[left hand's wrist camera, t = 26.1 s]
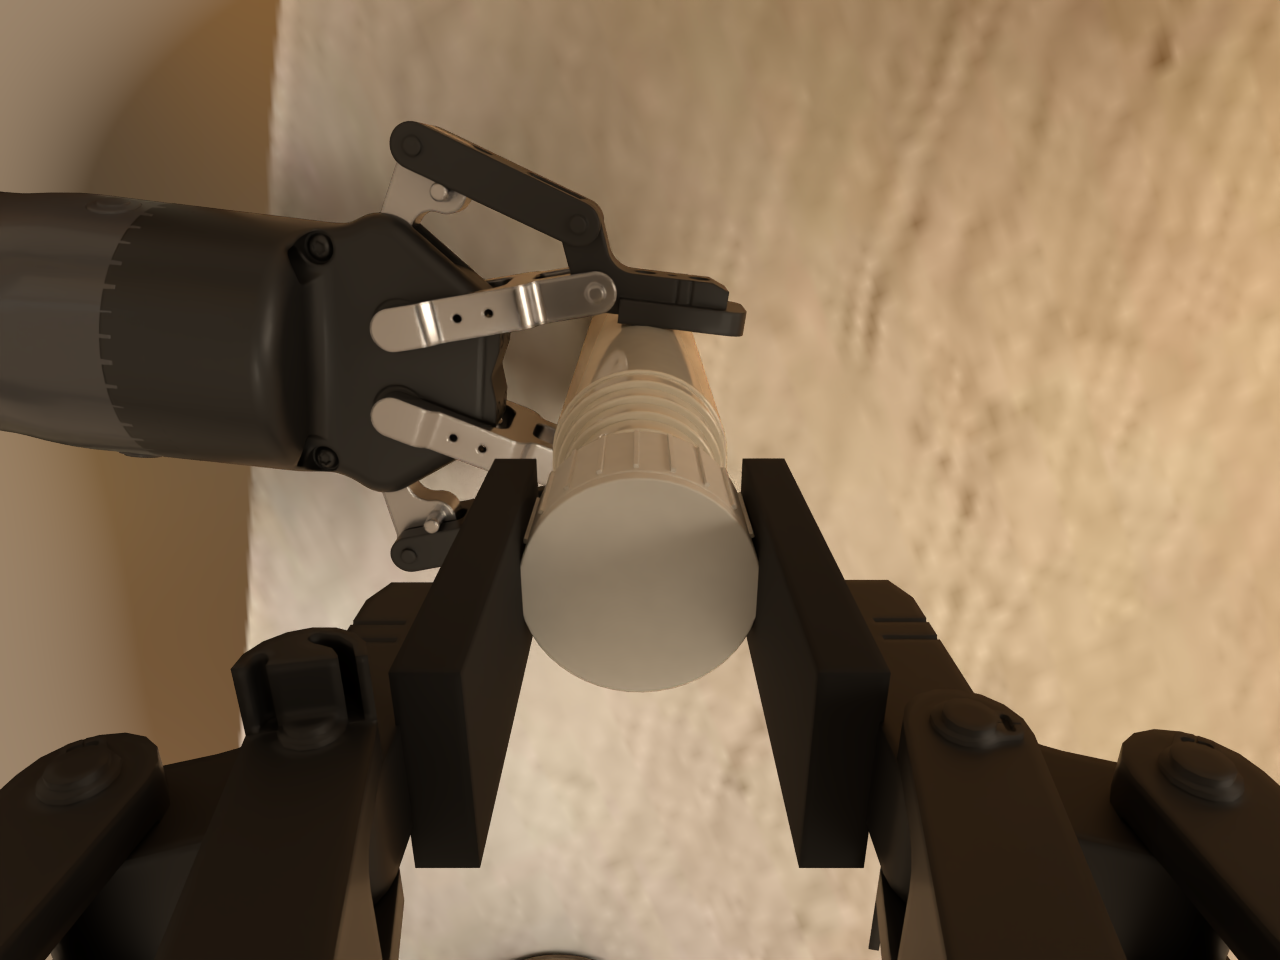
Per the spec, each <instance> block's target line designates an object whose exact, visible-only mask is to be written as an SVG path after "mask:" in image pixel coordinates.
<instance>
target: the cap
mask: <svg viewBox="0 0 1280 960" xmlns="http://www.w3.org/2000/svg"><path fill="white" fill-rule="evenodd" d="M753 537H755V535H754V532H753V529H752V526H751V523H750V520H749V516H748V513H747V510H746V507H745V504H744V500H743V497H742V494H741V492H739V493H737V491H736V489H735V487H734V485H733V483H732V481H731V479H730V478H729V477H728V473H727V470H726V468H725V467H724V466H723V467H721V466H720V465H719V464H718V463H717V462H716V461H715V460H714V459H713V458H711V457H710V456H709V455H708V454H706V453H705V452H704V451H703V448H702V447H700V446H698V447H696V446H694V445H693V444H691V443H688V442H686V441H684V440H682V439H679V438H676V437H673V436H672V434H669V433H668V434H667V435H666V434H661V433H655V432H639V430H634V432H624V433H619V434H614V435H609V436H606V435H603V436H601V439H598V440H595V441H593V442H591V443H589V444H587V445H585V446H583V447H582V448H580V449H579V450H576V449H575V450H573V451H572V453H571V455H570V456H569V457H568V458H567V459H566V460H565V461H564V462H563V463H561V465H560V466H559V467H558V468H557V469H556V470H555V472H554V471H551V472H550V474H549V477H548V481H547V484H546V486H545V488H544V490H543V492H542V494H541V497H540V498H538V497H537V498H536V501H535V505H534V508H533V511H532V514H531V517H530V520H529V524H528V527H527V530H526V533H525V536H524V539H523V541H524V543H525V544H526V546H525V549H524V552H523V556H522V559H521V563H520V569H521V586H522V602H523V616H524V619H525V622H526V624H527V626H528V628H529V630H530V632H531V634H532V635H533V637H534V638H535V640H536V641H537V643H538V644H539V646H540V647H541V648H542V649H543V650H544V651H545V652H546V654H547V655H548V656H549V657H550V658H551V659H553V660H554V661H555V662H556V663H557V664H558V665H559V666H561V667H562V668H564V669H565V670H567V671H568V672H570V673H571V674H573V675H575V676H577V677H579V678H581V679H582V680H584V681H587V682H590V683H592V684H595V685H597V686H601V687H605V688H609V689H612V690H619V691H626V692H652V691H661V690H666V689H671V688H675V687H678V686H682V685H685V684H688V683H690V682H692V681H695V680H697V679H699V678H701V677H703V676H705V675H706V674H708V673H710V672H711V671H713V670H714V669H716V668H717V667H718V666H720V665H721V664H722V663H724V662H725V661H726V660H727V659H728V658H729V657H730V656H731V655H732V654H733V653H734V652H735V651H736V650H737V648H738V647H739V646H740V645H741V643H742V642H743V641H744V639H745V637H746V636H747V634H748V632H749V631H750V629H751V627H752V625H753V622H754V620H755V617H756V604H757V588H758V571H759V561H758V557H757V554H756V551H755V548H754V544H753V541H752V538H753Z"/></svg>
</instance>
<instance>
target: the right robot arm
mask: <svg viewBox="0 0 1280 960" xmlns="http://www.w3.org/2000/svg"><path fill="white" fill-rule="evenodd" d="M390 150H391V153H392V155H393V157H394V159H395V160H396V161H397V163H396V166H395V169H394V173H393V176H392V179H391V182H390V185H389V188H388V191H387V194H386V198H385V201H384V204H383V207H382V210H381V212H379V213H372V214H368V215H365V216H363V217H361V218H359V219H357V220H354V221H352V222H349V223H332V222H323V221H315V220H307V219H299V218H290V217H282V216H274V215H265V214H257V213H249V212H241V211H232V210H224V209H216V208H208V207H199V206H191V205H183V204H174V203H164V202H156V201H148V200H140V199H132V198H124V197H116V196H108V195H100V194H88V193H9V192H0V430H1V431H7V432H14V433H19V434H23V435H27V436H31V437H35V438H39V439H43V440H47V441H51V442H56V443H60V444H65V445H70V446H76V447H83V448H90V449H98V450H108V451H117V452H119V453H122V454H124V455H126V456H131V457H141V458H155V457H162V456H164V457H173V458H182V459H191V460H200V461H211V462H220V463H229V464H238V465H248V466H257V467H266V468H275V469H284V470H294V471H327V472H336V473H340V474H343V475H346V476H348V477H350V478H352V479H354V480H356V481H358V482H359V483H361V484H362V485H364V486H366V487H367V488H369V489H372V490H375V491H378V492H383V495H384V498H385V501H386V504H387V507H388V510H389V513H390V515H391V518H392V521H393V524H394V527H395V530H396V533H397V540H396V541H395V543H394V544H393V546H392V548H391V558H392V561H393V562H394V564H395V565H396V566H397V567H399V568H400V569H402V570H404V571H408V572H414V571H420V570H426V569H431V568H437V567H441V566H442V564H443V562H444V560H445V558H446V556H447V554H448V552H449V550H450V548H451V546H452V544H453V542H454V540H455V538H456V536H457V534H458V532H459V530H460V528H461V525H462V523H463V521H464V519H465V517H466V515H467V513H468V511H469V509H470V507H471V505H472V503H473V501H474V499H471V500H465V501H459V499H458V498H457V497H456V496H455V495H454V494H453V493H451V492H449V491H445V490H431V489H428V488H426V487H424V486H423V485H422V484H421V483H420V482H419V480H421V479H423V478H424V477H426V476H428V475H430V474H432V473H433V472H435V471H437V470H439V469H441V468H442V467H444V466H446V465H448V464H450V463H451V462H453V461H455V460H460V461H462V462H465V463H468V464H470V465H473V466H476V467H478V468H481V469H484V470H486V471H489V469H490V467H491V465H492V463H493V461H494V459H537V479H538V483H539V484H542V485H544V486H540V487H538V498H540V497H541V494H542V492H543V490H544V488H545V486H546V484H547V481H548V477H549V474H550V472H551V471H553V440H554V434H555V431H556V427H557V424H554V423H552V422H549V421H547V420H545V419H543V418H542V417H541V416H540V415H539V414H538V413H536V412H535V411H533V410H531V409H529V408H526V407H524V406H521V405H519V404H516V403H513V402H511V401H508V400H506V399H507V384H506V379H505V374H504V370H503V365H502V361H503V358H504V355H505V352H506V349H507V346H508V343H509V340H510V332H513V331H519V330H525V329H529V328H533V327H536V326H538V325H541V324H545V323H551V322H557V321H563V320H569V319H575V318H581V317H587V316H594V315H600V314H603V313H609V314H618V322H617V323H620V324H629V325H637V326H650V327H655V328H663V329H672V330H680V331H689V332H698V333H706V334H715V335H723V336H735V337H737V336H742V335H743V330H744V324H745V318H746V310H745V309H744V308H743V306H742V305H741V304H738V303H735V302H730V301H728V296H729V292H728V290H727V289H726V287H725V286H724V285H722V284H720V283H719V282H717V281H715V280H713V279H712V278H710V277H704V276H696V275H687V274H679V273H671V272H662V271H654V270H646V269H637V268H630V267H627V266H625V265H623V264H621V263H620V262H619V261H618V260H617V259H616V258H615V257H614V255H613V253H612V251H611V248H610V245H609V241H608V237H607V232H606V228H605V224H604V217H603V213H602V210H601V208H600V207H599V206H598V204H596V203H595V202H594V201H592V200H590V199H588V198H586V197H584V196H582V195H580V194H578V193H575V192H573V191H571V190H569V189H567V188H565V187H563V186H561V185H559V184H557V183H555V182H553V181H551V180H548V179H546V178H544V177H542V176H540V175H538V174H536V173H534V172H532V171H530V170H528V169H526V168H523V167H521V166H519V165H517V164H515V163H513V162H511V161H509V160H507V159H505V158H503V157H501V156H499V155H496V154H494V153H492V152H490V151H488V150H486V149H484V148H482V147H480V146H478V145H476V144H474V143H472V142H469V141H467V140H465V139H463V138H461V137H459V136H457V135H455V134H453V133H451V132H449V131H447V130H444V129H442V128H440V127H437V126H432V125H428V124H423V123H419V122H414V121H406V122H403V123H401V124H399V125H398V126H396V127H395V129H394V130H393V132H392V134H391V137H390ZM471 200H474V201H476V202H478V203H480V204H483V205H485V206H487V207H489V208H491V209H493V210H495V211H497V212H500V213H502V214H504V215H506V216H508V217H510V218H512V219H515V220H517V221H519V222H521V223H523V224H525V225H527V226H529V227H532V228H534V229H536V230H538V231H540V232H542V233H544V234H546V235H549V236H551V237H553V238H555V239H557V240H559V241H561V242H562V243H563V247H564V251H565V255H566V259H567V262H568V266H569V267H566V268H560V269H554V270H548V271H534V272H527V273H521V274H515V275H509V276H503V277H497V278H491V279H485V280H484V279H483V278H481V277H480V276H479V275H478V274H477V273H476V272H475V271H474V270H472V269H471V268H470V267H469V266H468V265H467V264H466V263H464V262H463V261H462V260H461V259H460V258H459V257H458V256H456V255H455V254H454V253H453V252H452V251H451V250H450V249H449V248H447V247H446V246H445V245H444V244H443V243H442V242H441V241H439V240H438V239H437V238H436V237H435V236H434V235H433V234H432V233H430V232H429V231H428V230H427V229H426V228H425V227H424V226H423V225H421V224H420V222H421V220H422V218H423V217H424V216H425V215H426V214H427V213H428V212H430V211H435V212H438V213H442V214H451V213H456V212H460V211H462V210H464V209H465V208H466V207H467V206H468V205H469V204H470V202H471ZM501 418H502V419H501ZM482 445H484V446H485V447H486V448H485V447H483V446H482ZM524 960H592V959H589V958H585V957H580V956H573V955H543V956H537V957H532V958H528V959H524Z"/></svg>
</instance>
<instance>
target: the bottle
mask: <svg viewBox="0 0 1280 960" xmlns="http://www.w3.org/2000/svg"><path fill="white" fill-rule="evenodd" d="M617 322H618V314H609V313H603V314H600V315H594V316H593V318H592V320H591V322H590V325H589V328H588V331H587V335H586V338H585V341H584V344H583V347H582V350H581V353H580V356H579V359H578V362H577V365H576V368H575V371H574V375H573V378H572V381H571V384H570V387H569V390H568V393H567V396H566V399H565V402H564V405H563V408H562V411H561V415H560V418H559V421H558V424H557V427H556V431H555V434H554V440H553V471H554V472H555V470H556V469H557V468H558V467H559V466H560V465H561V463H563V462H564V461H565V460H566V459H567V458H568V457H569V456H570V455H571V453H572V451H573V450H575V449H576V450H579V449H580V448H582V447H583V446H585V445H587V444H589V443H591V442H593V441H595V440H598V439H601V436H603V435H606V436H609V435H614V434H619V433H624V432H634V430H639V432H655V433H661V434H666V435H667V434H668V433H669V434H672V436H673V437H676V438H679V439H682V440H684V441H686V442H688V443H691V444H693V445H694V446H696V447H698V446H700V447H702V448H703V451H704V452H705V453H706V454H708V455H709V456H710V457H711V458H713V459H714V460H715V461H716V462H717V463H718V464H719V465H720V466H721V467H723V466H724V467H725V468H727V444H726V437H725V432H724V429H723V426H722V423H721V420H720V417H719V413H718V410H717V407H716V404H715V401H714V398H713V395H712V392H711V389H710V386H709V383H708V380H707V376H706V373H705V370H704V367H703V364H702V361H701V358H700V355H699V352H698V349H697V346H696V343H695V339H694V336H693V333H692V332H689V331H680V330H672V329H663V328H655V327H650V326H637V325H629V324H620V323H617Z"/></svg>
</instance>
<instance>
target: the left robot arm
mask: <svg viewBox="0 0 1280 960" xmlns="http://www.w3.org/2000/svg"><path fill="white" fill-rule="evenodd" d="M741 494H742V497H743V500H744V504H745V507H746V510H747V513H748V516H749V520H750V523H751V526H752V529H753V532H754V535H755V537H753V538H752V541H753V544H754V548H755V551H756V554H757V557H758V561H759V571H758V588H757V604H756V617H755V620H754V622H753V625H752V627H751V629H750V631H749V632H748V634H747V641H748V645H749V650H750V654H751V658H752V663H753V667H754V672H755V676H756V680H757V685H758V689H759V694H760V698H761V702H762V707H763V711H764V716H765V720H766V724H767V729H768V733H769V738H770V742H771V746H772V751H773V755H774V760H775V764H776V768H777V773H778V777H779V781H780V786H781V790H782V795H783V799H784V803H785V808H786V812H787V817H788V821H789V825H790V830H791V834H792V839H793V843H794V847H795V852H796V856H797V861H798V865H799V868H864V862H865V855H866V848H867V841H868V834H869V833H870V836H871V839H872V842H873V845H874V848H875V851H876V854H877V857H878V859H879V862H880V865H881V869H880V875H879V882H878V889H877V895H876V902H875V909H874V915H873V922H872V929H871V936H870V942H869V949H872V950H878V951H879V946H881V956H882V960H1230V959H1229V958H1228V956H1227V955H1228V952H1229V949H1230V950H1231V951H1232V952H1233V954H1234V955H1235V956H1236V957H1237V959H1238V960H1280V786H1279V785H1278V784H1277V783H1276V782H1275V781H1274V780H1273V779H1272V778H1271V777H1270V776H1268V775H1267V774H1266V773H1265V772H1264V771H1263V770H1261V769H1260V768H1258V767H1257V766H1256V765H1254V764H1253V763H1251V762H1250V761H1249V760H1247V759H1246V758H1244V757H1243V756H1242V755H1240V754H1239V753H1237V752H1234V751H1232V750H1230V749H1228V748H1226V747H1224V746H1222V745H1220V744H1218V743H1216V742H1214V741H1212V740H1209V739H1206V738H1203V737H1200V736H1194V735H1193V734H1188V733H1184V732H1180V731H1169V730H1158V729H1153V730H1148V731H1142V732H1137V733H1134V734H1132V735H1131V736H1130V737H1129V738H1128V739H1127V740H1126V741H1124V742H1123V743H1122V747H1121V751H1120V754H1119V758H1118V761H1117V762H1112V761H1108V760H1103V759H1098V758H1093V757H1089V756H1084V755H1079V754H1075V753H1070V752H1065V751H1061V750H1057V749H1054V748H1050V747H1047V746H1043V745H1040V744H1038V742H1037V740H1036V737H1035V735H1034V733H1033V732H1032V731H1031V729H1030V728H1029V726H1028V725H1027V724H1026V722H1025V721H1024V719H1023V718H1021V717H1020V716H1019V715H1017V714H1016V713H1015V712H1013V711H1012V710H1011V709H1009V708H1008V707H1007V706H1005V705H1004V704H1001V703H999V702H997V701H995V700H992V699H990V698H988V697H985V696H983V695H981V694H976V693H974V692H973V691H972V689H971V688H970V686H969V685H968V683H967V681H966V680H965V678H964V677H963V675H962V674H961V672H960V670H959V669H958V667H957V666H956V664H955V663H954V661H953V659H952V658H951V656H950V655H949V653H948V652H947V650H946V648H945V647H944V645H943V644H942V642H941V641H940V640H937V634H936V633H935V631H934V630H933V628H932V627H931V625H930V623H929V622H926V617H925V616H924V614H923V612H922V611H921V609H920V608H919V606H918V605H917V603H916V601H915V600H914V598H913V597H911V596H910V595H909V594H907V593H906V592H904V591H903V590H901V589H900V588H899V587H897V586H896V585H894V584H893V583H891V582H890V581H889V580H844V578H843V575H842V573H841V571H840V569H839V567H838V565H837V563H836V561H835V559H834V557H833V555H832V553H831V551H830V549H829V547H828V545H827V543H826V541H825V539H824V537H823V535H822V533H821V531H820V529H819V527H818V525H817V523H816V521H815V519H814V517H813V515H812V513H811V511H810V509H809V507H808V505H807V503H806V501H805V499H804V497H803V495H802V493H801V491H800V489H799V487H798V485H797V483H796V481H795V479H794V477H793V475H792V473H791V471H790V469H789V467H788V465H787V463H786V461H785V459H743V461H742V481H741ZM537 497H538V479H537V459H494V461H493V463H492V465H491V467H490V469H489V471H488V473H487V475H486V477H485V479H484V481H483V483H482V485H481V487H480V489H479V491H478V493H477V495H476V497H475V499H474V501H473V503H472V505H471V507H470V509H469V511H468V513H467V515H466V517H465V519H464V521H463V523H462V525H461V528H460V530H459V532H458V534H457V536H456V538H455V540H454V542H453V544H452V546H451V548H450V550H449V552H448V554H447V556H446V558H445V560H444V562H443V564H442V566H441V568H440V570H439V572H438V574H437V576H436V578H435V580H434V582H393V583H390V584H389V585H387V586H386V587H384V588H383V589H382V590H380V591H379V592H377V593H376V594H374V595H373V596H372V597H370V598H369V599H367V600H366V602H365V603H364V605H363V606H362V608H361V609H360V611H359V613H358V614H357V616H356V617H355V619H354V620H353V625H350V627H349V628H348V630H343V629H339V628H307V629H302V630H297V631H292V632H287V633H284V634H281V635H279V636H276V637H274V638H271V639H268V640H266V641H263V642H261V643H260V644H258V645H257V646H255V647H254V648H252V649H251V650H249V651H247V652H246V653H244V654H243V655H242V656H241V657H240V659H239V660H238V661H237V662H236V663H235V665H234V666H233V667H232V668H231V673H232V677H233V681H234V686H235V690H236V694H237V699H238V703H239V708H240V712H241V717H242V721H243V726H244V730H245V734H246V736H245V739H244V741H243V744H242V746H241V747H240V748H237V749H234V750H230V751H227V752H223V753H220V754H216V755H211V756H206V757H202V758H197V759H192V760H188V761H183V762H178V763H174V764H169V765H164V766H163V765H162V762H161V758H160V755H159V751H158V747H157V746H156V745H155V744H154V743H152V742H151V741H150V740H149V739H148V738H147V737H145V736H140V735H134V734H130V733H117V734H106V735H98V736H94V737H90V738H86V739H84V740H79V741H76V742H73V743H70V744H67V745H65V746H64V747H62V748H60V749H57V750H55V751H53V752H51V753H49V754H47V755H45V756H43V757H41V758H39V759H38V760H37V761H35V762H34V763H32V764H31V765H30V766H28V767H27V768H25V769H24V770H23V771H21V772H20V773H19V774H17V775H16V776H15V777H14V778H13V779H11V780H10V781H9V782H8V783H7V784H6V785H5V786H4V787H3V788H2V789H0V960H45V959H46V958H47V957H48V956H49V954H50V953H51V955H52V958H53V960H398V958H399V948H400V938H401V928H402V918H403V908H404V896H403V889H402V882H401V875H400V869H399V867H400V864H401V861H402V858H403V855H404V852H405V849H406V846H407V843H408V840H409V837H410V835H411V840H412V847H413V854H414V862H415V868H480V865H481V861H482V857H483V852H484V848H485V844H486V839H487V835H488V830H489V826H490V822H491V817H492V813H493V808H494V804H495V800H496V795H497V791H498V786H499V782H500V778H501V773H502V769H503V764H504V760H505V756H506V751H507V747H508V742H509V738H510V734H511V729H512V725H513V721H514V716H515V712H516V707H517V703H518V699H519V694H520V690H521V685H522V681H523V677H524V672H525V668H526V663H527V659H528V655H529V650H530V646H531V641H532V637H533V635H532V634H531V632H530V630H529V628H528V626H527V624H526V622H525V619H524V616H523V602H522V586H521V569H520V563H521V559H522V556H523V552H524V549H525V546H526V544H525V543H524V541H523V539H524V536H525V533H526V530H527V527H528V524H529V520H530V517H531V514H532V511H533V508H534V505H535V501H536V498H537Z"/></svg>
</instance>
